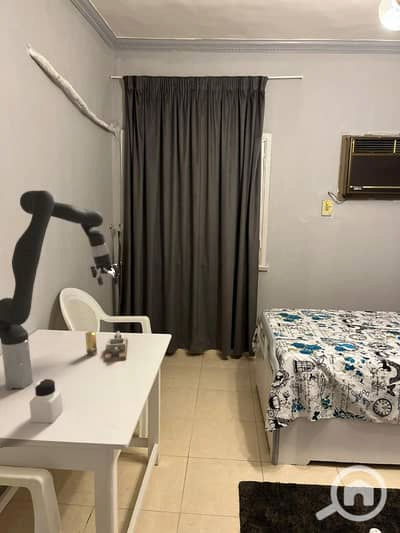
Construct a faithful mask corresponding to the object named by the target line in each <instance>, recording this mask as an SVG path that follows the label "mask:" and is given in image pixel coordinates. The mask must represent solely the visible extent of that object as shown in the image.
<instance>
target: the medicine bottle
mask: <svg viewBox="0 0 400 533" xmlns="http://www.w3.org/2000/svg"><path fill="white" fill-rule="evenodd" d="M55 383H56V382H55V380H54V379H51V378H50V379H49V378H46V379H41V380H39V381H36V382H35V384H34V385H33V388H34V397H33V398H32V399H31V400H30V401H29V412H30V420H31V421H30V422H31V423H34V424H35V423H37V424H38V423H39V424H40V423H41V424H53V423H54V422H56V420H57V418H59V416H60V415H61V414H62V413H63V398H62V391H58V390H56V385H55Z"/></svg>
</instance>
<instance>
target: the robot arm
mask: <svg viewBox="0 0 400 533" xmlns="http://www.w3.org/2000/svg"><path fill="white" fill-rule="evenodd" d="M19 204H20V207H21V209H22V210H23V211H24V212H25V213H27V214H29V215H31V218H30V219H31V220H30V222H29V225H28V227H27V228H26V229H25V231H24V232H23V233H22V235H21V236H19V238H18V240H17V241H16V244H15V246H14V250H13V254H12V259H11V267H12V273H13V277H14V282H15V284H14V291H13V296H12V298H11V297H4V298H2V299H1V298H0V345H1V353H2V362H3V370H4V379H5V387H6V386H7V387H6V390H7V389H10V390H13V389H12V388H21V389H25V388H26V387H27V386H30V385H31V384H32V383H33V381H34V380H33V371H32V361H31V352H30V342H29V341H30V340H29V333H28V331H27V330H26V329H25V328H24V326H22V325H23V324H25V322H26V321H27V320H28V319H29V317H30V314H31V311H32V303H33V302H32V301H33V294H34V287H35V281H36V276H37V272H38V266H39V263H40V258H41V254H42V248H43V246H44V245H43V244H44V240H45V237H46V232H47V229H48V226H49V223H50V220H51V217H53V218H57V219H60V220H64V221H66V222H70V223H73V224H79V225H80V226H81V228H82V230H83V231H84V233H85V235H86V237H87V238H88V242H89V245H90V250H91V253H92V259H93V262H94V264H93V265H91V266H90V270H91V276H92V278H94V279H96V280H97V283H98V285H99V286H103V285H104V282H103V278H102V275H105V274H107V275H109V276H111V277H112V280H113V283H114V285H115V286H117V285H118V284H119V278H118V277H119V276H120V275H121V271H120V268H119V264H118V263H116V262H115V263H113V264H112V260H111V256H110V252H109V249H108V245H107V243H106V240H105V236H104V232H102V230H101V231H100V230H97V229H96V228H99V227H100V226H101V225H102V224H103V223H104V217H103V215H102V214H101V212H99V211H97V210H92V209H85V208H81V207H79V206H76V205H72V204H69V203H63V202H56V201H55V200H54V196H53V194H52V193H51V192H50V191H48V190H40V189H39V190H28V191H24V193H23V194H21V195H20V200H19Z"/></svg>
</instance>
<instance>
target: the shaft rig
mask: <svg viewBox="0 0 400 533" xmlns="http://www.w3.org/2000/svg"><path fill="white" fill-rule="evenodd" d="M113 336H114V338H108V339H107V344H106V351H105V355H104V362H113V361H124V360H125V361H126V360H127V354H128V344H129V340H128V338H126V337H122V334H121V332H120V330H117V331H116V332H115V334H114V335H113Z"/></svg>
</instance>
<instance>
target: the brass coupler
mask: <svg viewBox="0 0 400 533" xmlns="http://www.w3.org/2000/svg"><path fill="white" fill-rule="evenodd" d="M85 347H86V348H85V349H86V356H88V357H95V356H97V355H98V346H97V335H96V331H87V332H85Z"/></svg>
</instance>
